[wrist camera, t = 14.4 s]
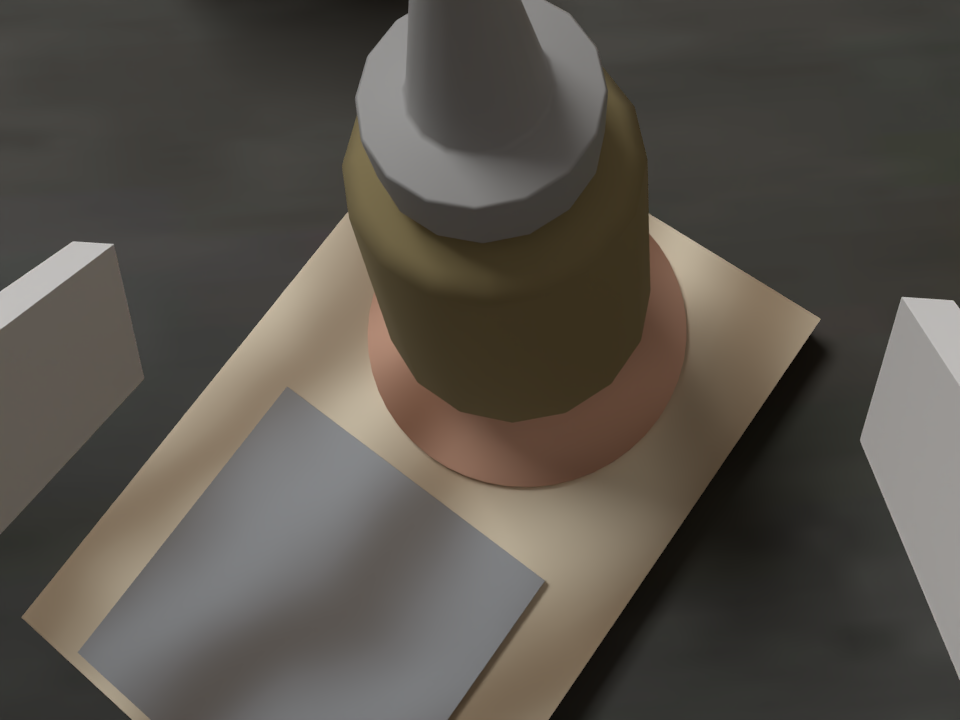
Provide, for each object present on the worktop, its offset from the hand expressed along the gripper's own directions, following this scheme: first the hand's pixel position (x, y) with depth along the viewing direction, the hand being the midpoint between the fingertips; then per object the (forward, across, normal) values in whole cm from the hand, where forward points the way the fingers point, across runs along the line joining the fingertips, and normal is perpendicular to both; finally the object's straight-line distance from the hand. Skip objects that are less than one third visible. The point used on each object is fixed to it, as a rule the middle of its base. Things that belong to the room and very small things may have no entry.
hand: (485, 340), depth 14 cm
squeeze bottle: (+13, 0, -7) cm, 15 cm away
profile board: (+11, -3, -12) cm, 16 cm away
